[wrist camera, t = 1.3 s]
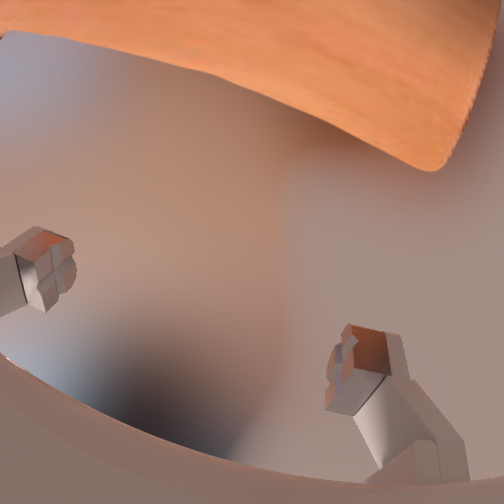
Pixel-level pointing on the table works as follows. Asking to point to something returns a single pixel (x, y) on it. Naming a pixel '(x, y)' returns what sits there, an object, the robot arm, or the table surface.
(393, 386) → the robot arm
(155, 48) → the table surface
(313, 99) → the table surface
